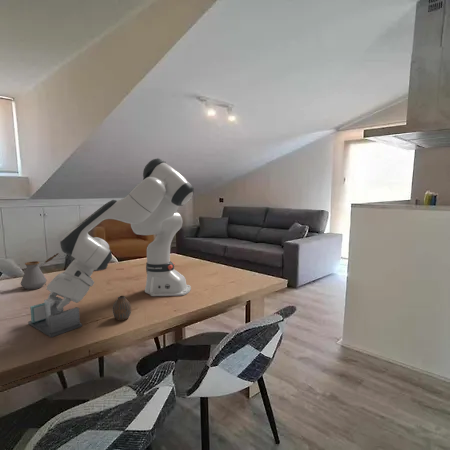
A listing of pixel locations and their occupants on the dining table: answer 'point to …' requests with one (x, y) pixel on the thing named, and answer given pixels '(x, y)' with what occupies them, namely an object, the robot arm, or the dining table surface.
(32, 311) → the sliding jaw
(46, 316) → the steel block
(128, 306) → the vase
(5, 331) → the dining table surface
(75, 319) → the vise
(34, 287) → the coffee pot
